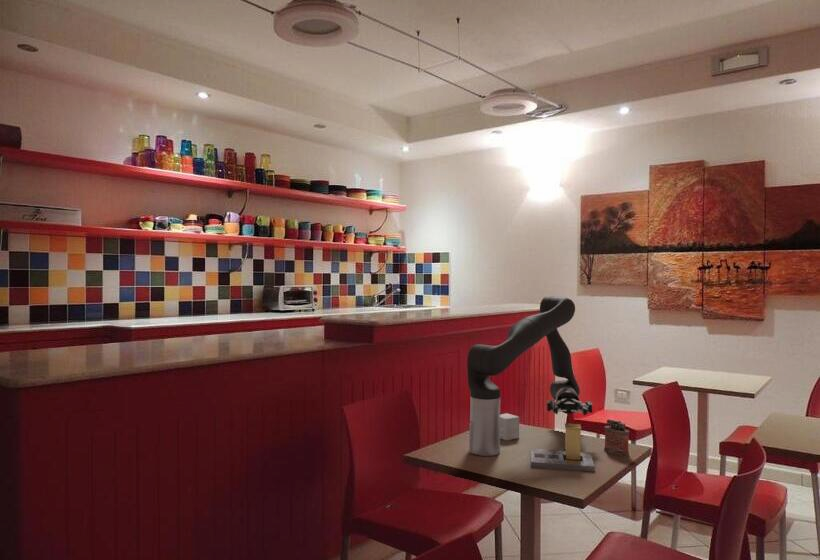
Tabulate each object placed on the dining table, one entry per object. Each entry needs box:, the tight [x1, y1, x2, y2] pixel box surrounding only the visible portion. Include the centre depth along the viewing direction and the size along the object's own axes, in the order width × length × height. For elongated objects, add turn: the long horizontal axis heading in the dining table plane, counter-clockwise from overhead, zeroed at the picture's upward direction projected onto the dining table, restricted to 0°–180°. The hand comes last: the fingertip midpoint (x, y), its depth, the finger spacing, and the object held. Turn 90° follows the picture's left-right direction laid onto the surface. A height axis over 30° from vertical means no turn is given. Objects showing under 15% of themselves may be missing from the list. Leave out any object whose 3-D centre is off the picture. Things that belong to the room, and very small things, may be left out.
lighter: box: [603, 419, 630, 457], centre depth 177 cm, size 8×3×10 cm, turn 37°
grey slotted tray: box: [530, 448, 596, 473], centre depth 168 cm, size 18×13×2 cm
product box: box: [500, 413, 520, 441], centre depth 194 cm, size 6×6×7 cm
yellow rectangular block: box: [564, 422, 582, 461], centre depth 167 cm, size 4×4×11 cm
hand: (570, 411), depth 179 cm, fingers open, 8 cm apart
